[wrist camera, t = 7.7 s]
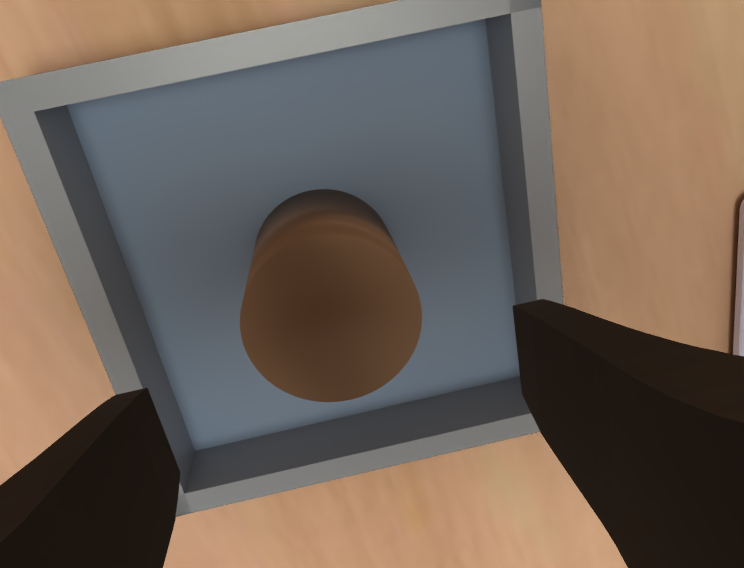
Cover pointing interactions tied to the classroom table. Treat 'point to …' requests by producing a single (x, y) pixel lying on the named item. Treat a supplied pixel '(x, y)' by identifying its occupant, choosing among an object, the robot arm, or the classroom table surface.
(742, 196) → the classroom table surface
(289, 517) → the classroom table surface
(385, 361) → the walnut post
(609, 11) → the classroom table surface
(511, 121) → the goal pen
